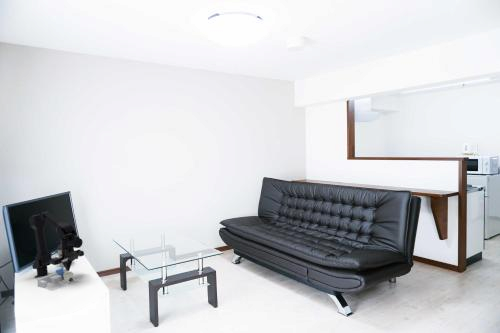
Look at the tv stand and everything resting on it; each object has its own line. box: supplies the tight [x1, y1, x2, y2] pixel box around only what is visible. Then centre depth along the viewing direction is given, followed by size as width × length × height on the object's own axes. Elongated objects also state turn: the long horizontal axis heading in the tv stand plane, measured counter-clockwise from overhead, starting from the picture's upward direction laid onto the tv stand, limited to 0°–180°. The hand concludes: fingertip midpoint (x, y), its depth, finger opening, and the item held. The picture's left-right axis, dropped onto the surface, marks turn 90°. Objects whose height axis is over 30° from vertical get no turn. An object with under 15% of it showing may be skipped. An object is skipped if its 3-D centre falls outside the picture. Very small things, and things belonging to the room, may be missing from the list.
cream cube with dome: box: [62, 271, 75, 282], centre depth 205 cm, size 9×4×4 cm, turn 61°
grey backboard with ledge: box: [36, 267, 81, 292], centre depth 202 cm, size 14×18×6 cm
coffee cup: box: [56, 243, 65, 268], centre depth 231 cm, size 9×9×15 cm
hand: (68, 270), depth 204 cm, fingers closed
